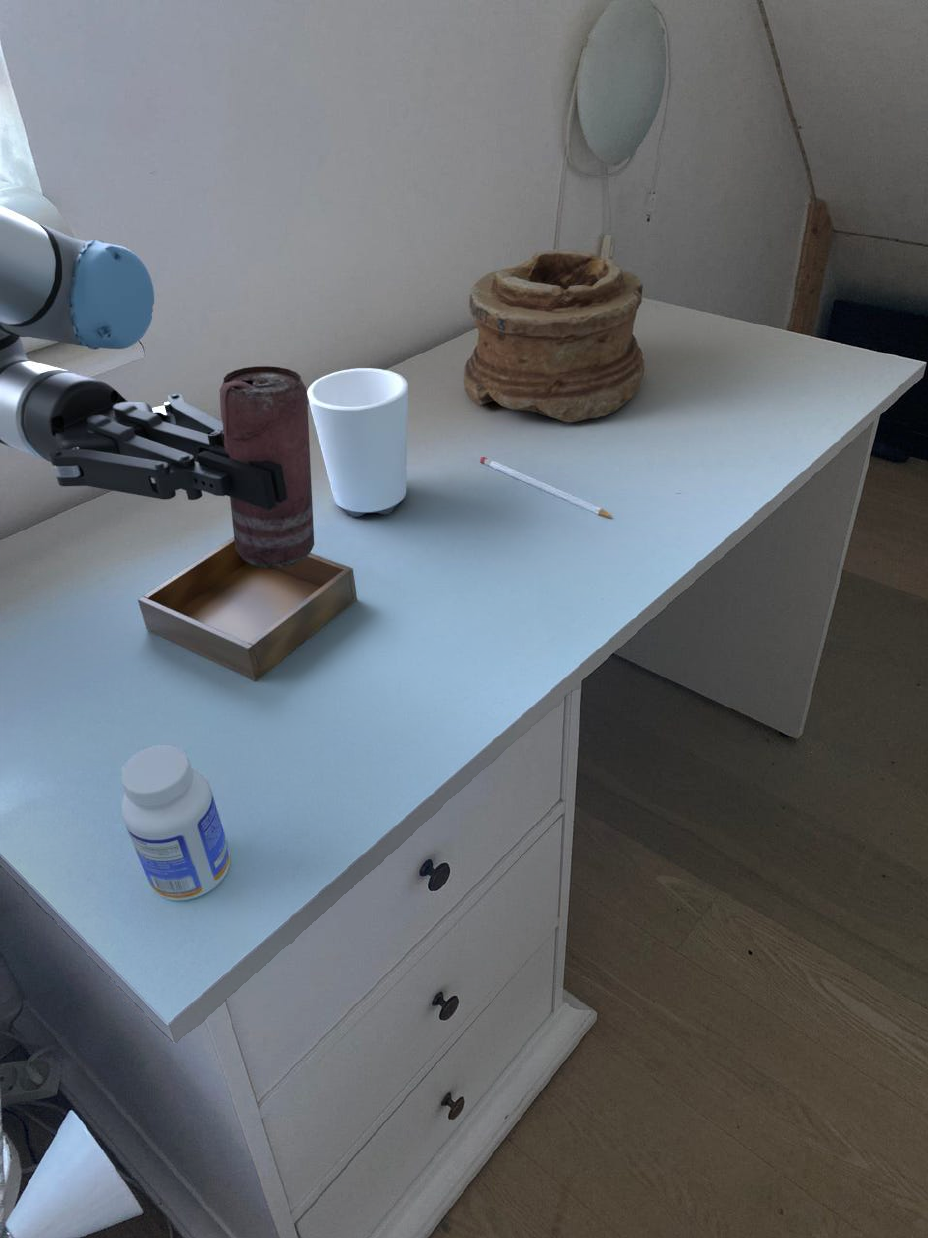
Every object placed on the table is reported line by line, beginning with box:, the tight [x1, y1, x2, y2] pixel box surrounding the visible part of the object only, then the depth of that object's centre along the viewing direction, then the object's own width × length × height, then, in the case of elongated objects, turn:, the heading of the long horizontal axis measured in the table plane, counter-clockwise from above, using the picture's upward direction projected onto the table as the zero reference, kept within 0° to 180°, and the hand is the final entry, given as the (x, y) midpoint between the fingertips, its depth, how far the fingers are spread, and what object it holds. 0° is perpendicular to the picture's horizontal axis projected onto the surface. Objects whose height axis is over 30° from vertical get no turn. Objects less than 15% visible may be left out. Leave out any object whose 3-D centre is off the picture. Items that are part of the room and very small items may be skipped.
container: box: [463, 249, 646, 423], centre depth 116 cm, size 22×24×15 cm
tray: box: [137, 536, 358, 682], centre depth 83 cm, size 13×13×3 cm
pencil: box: [479, 456, 614, 519], centre depth 100 cm, size 1×19×1 cm, turn 44°
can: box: [219, 365, 315, 568], centre depth 70 cm, size 6×6×14 cm
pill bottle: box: [120, 744, 231, 902], centre depth 59 cm, size 5×5×10 cm
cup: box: [307, 367, 409, 518], centre depth 96 cm, size 10×10×13 cm
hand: (275, 487), depth 66 cm, fingers closed on can
